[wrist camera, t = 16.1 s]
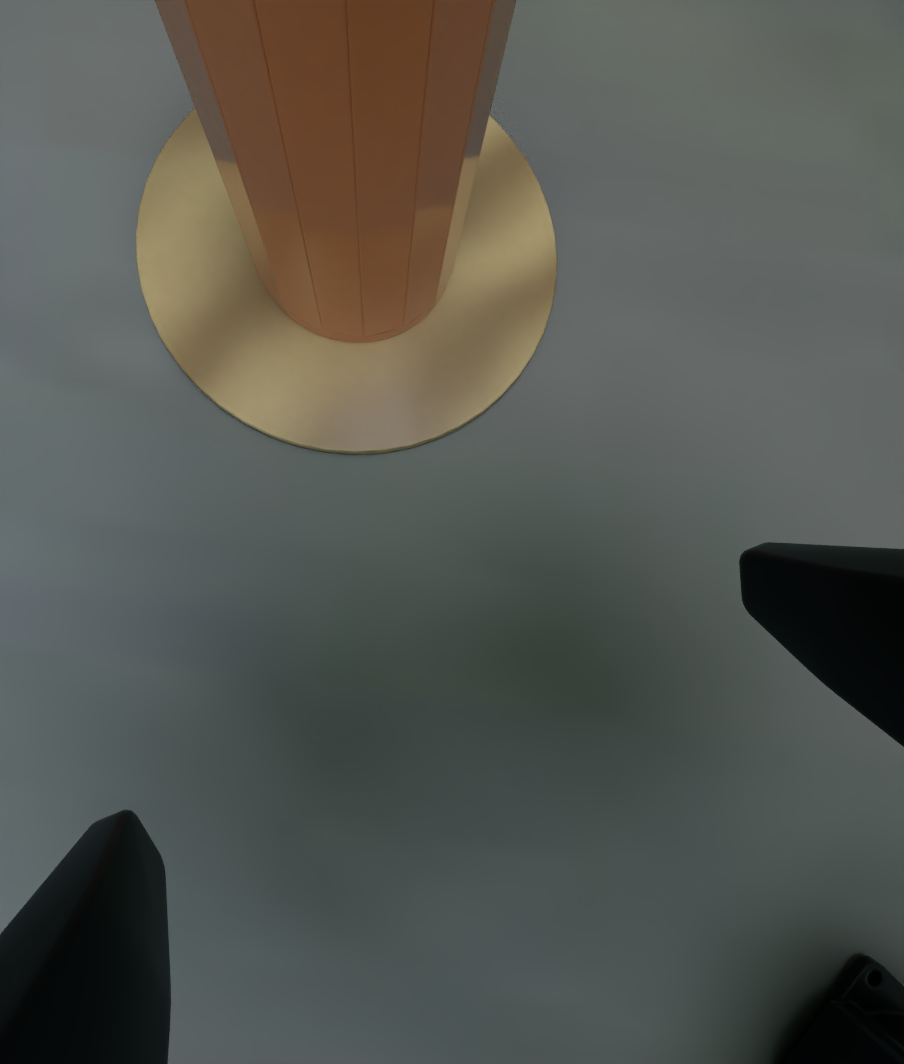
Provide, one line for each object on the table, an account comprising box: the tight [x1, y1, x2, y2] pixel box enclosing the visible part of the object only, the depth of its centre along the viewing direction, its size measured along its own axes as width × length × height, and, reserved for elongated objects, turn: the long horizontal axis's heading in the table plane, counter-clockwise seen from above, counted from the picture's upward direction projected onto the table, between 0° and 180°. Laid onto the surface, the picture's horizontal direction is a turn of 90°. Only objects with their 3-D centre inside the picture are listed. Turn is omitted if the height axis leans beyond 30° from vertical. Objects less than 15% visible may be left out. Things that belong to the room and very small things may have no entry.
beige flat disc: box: [136, 108, 557, 454], centre depth 21 cm, size 14×14×1 cm
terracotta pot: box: [155, 0, 516, 342], centre depth 14 cm, size 7×7×13 cm
